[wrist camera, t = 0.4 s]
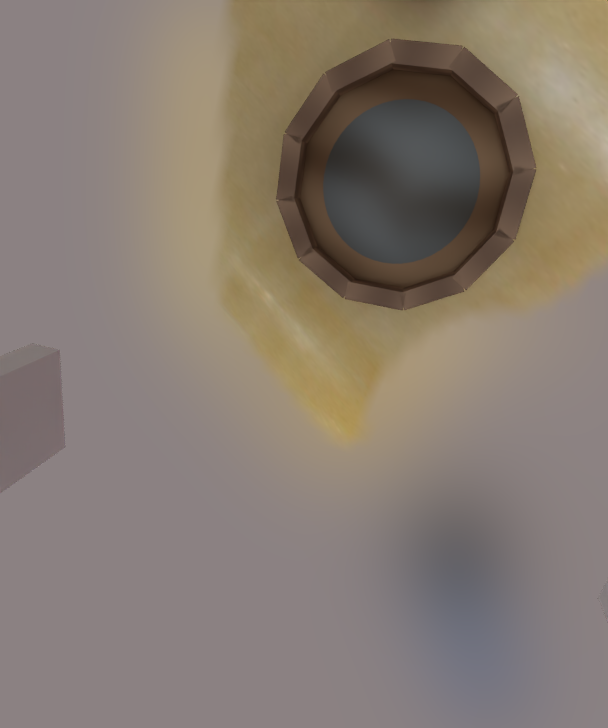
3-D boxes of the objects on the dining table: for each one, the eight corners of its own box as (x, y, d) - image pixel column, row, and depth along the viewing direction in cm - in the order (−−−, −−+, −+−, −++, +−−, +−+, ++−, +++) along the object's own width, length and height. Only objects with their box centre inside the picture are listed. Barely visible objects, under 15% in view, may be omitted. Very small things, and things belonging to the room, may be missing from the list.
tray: (306, 40, 31) (294, 26, 29) (559, 67, 29) (572, 54, 26) (276, 277, 37) (265, 284, 34) (485, 319, 34) (490, 329, 32)
